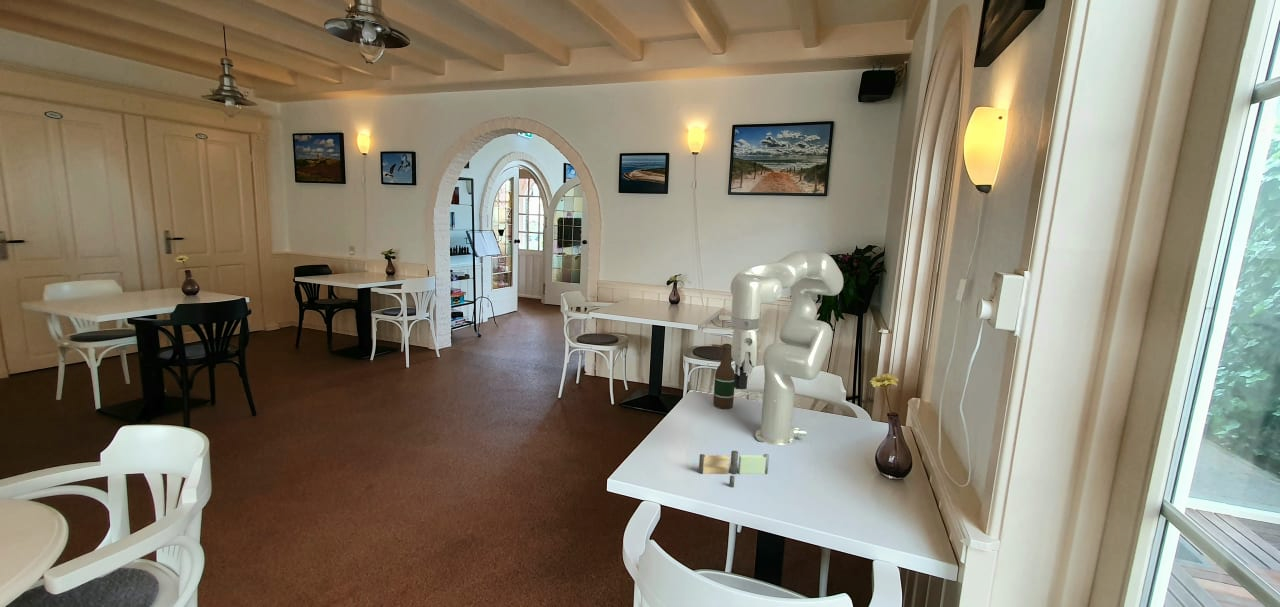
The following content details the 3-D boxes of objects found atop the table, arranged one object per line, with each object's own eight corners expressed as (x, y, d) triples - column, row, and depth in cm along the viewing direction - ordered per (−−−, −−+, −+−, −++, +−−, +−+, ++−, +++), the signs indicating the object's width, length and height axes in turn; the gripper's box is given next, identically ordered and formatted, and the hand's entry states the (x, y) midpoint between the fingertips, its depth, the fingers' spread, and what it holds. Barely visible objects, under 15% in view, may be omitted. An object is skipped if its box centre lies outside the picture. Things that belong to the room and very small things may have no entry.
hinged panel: (739, 474, 139) (741, 456, 138) (738, 471, 140) (739, 453, 139) (768, 474, 139) (769, 456, 139) (766, 471, 141) (768, 453, 140)
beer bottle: (735, 404, 195) (740, 343, 192) (730, 410, 188) (734, 348, 185) (715, 400, 199) (720, 341, 195) (710, 407, 192) (714, 345, 188)
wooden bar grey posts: (735, 472, 140) (737, 450, 139) (744, 488, 132) (746, 465, 131) (698, 472, 140) (699, 450, 139) (704, 488, 131) (705, 465, 130)
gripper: (766, 329, 131) (761, 397, 134) (751, 318, 146) (746, 380, 149) (737, 329, 131) (733, 397, 134) (725, 317, 145) (721, 379, 148)
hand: (740, 388), depth 141 cm, fingers closed
